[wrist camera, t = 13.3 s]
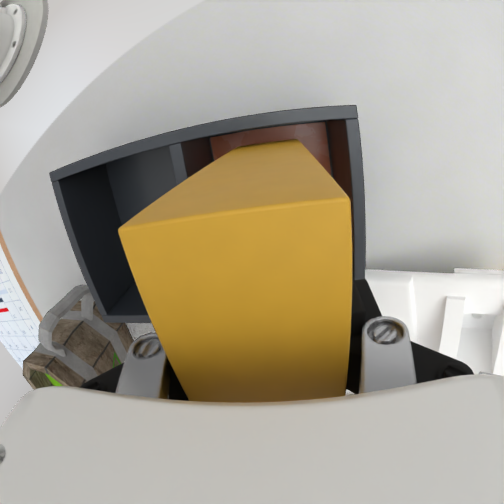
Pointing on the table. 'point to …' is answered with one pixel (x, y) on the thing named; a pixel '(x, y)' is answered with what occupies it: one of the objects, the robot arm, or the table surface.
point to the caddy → (178, 170)
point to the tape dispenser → (448, 312)
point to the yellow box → (250, 276)
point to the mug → (75, 343)
